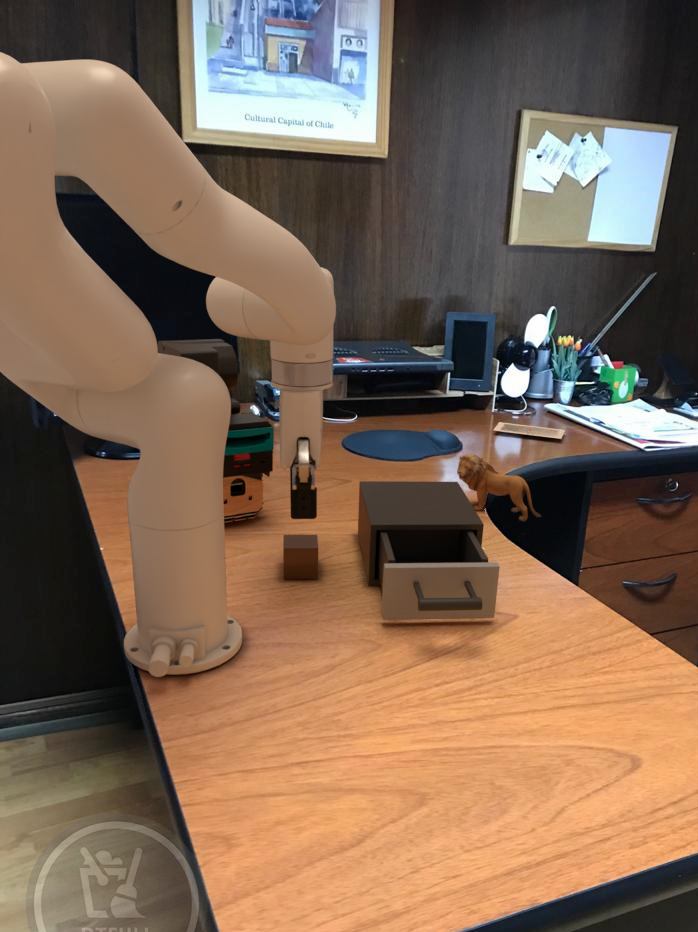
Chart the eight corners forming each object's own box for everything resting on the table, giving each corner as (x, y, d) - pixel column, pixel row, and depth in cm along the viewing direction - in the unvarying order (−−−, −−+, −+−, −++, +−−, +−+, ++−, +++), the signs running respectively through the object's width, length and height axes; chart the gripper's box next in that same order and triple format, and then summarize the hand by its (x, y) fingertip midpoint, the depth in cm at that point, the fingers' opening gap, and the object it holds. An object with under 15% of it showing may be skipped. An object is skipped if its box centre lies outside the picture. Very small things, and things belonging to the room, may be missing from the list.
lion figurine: (449, 508, 128) (453, 456, 125) (460, 498, 133) (464, 448, 129) (536, 525, 123) (543, 471, 119) (544, 514, 127) (551, 462, 124)
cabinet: (478, 584, 102) (483, 524, 99) (368, 585, 100) (370, 524, 97) (453, 534, 118) (457, 481, 114) (357, 535, 116) (359, 481, 113)
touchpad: (498, 426, 179) (499, 417, 178) (564, 434, 175) (565, 425, 174) (492, 435, 172) (493, 425, 171) (560, 443, 168) (562, 433, 167)
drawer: (506, 643, 87) (513, 589, 84) (388, 646, 85) (391, 590, 83) (466, 562, 106) (470, 516, 104) (369, 563, 105) (371, 517, 102)
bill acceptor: (213, 535, 113) (207, 365, 104) (162, 488, 131) (152, 339, 122) (278, 523, 119) (277, 360, 110) (220, 479, 136) (215, 336, 127)
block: (318, 579, 102) (318, 548, 100) (283, 579, 101) (283, 548, 99) (316, 564, 106) (317, 534, 104) (283, 564, 105) (283, 534, 104)
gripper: (272, 358, 101) (274, 480, 108) (269, 389, 85) (272, 530, 92) (329, 358, 102) (328, 480, 109) (337, 389, 86) (335, 530, 93)
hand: (303, 503), depth 100 cm, fingers open, 9 cm apart
